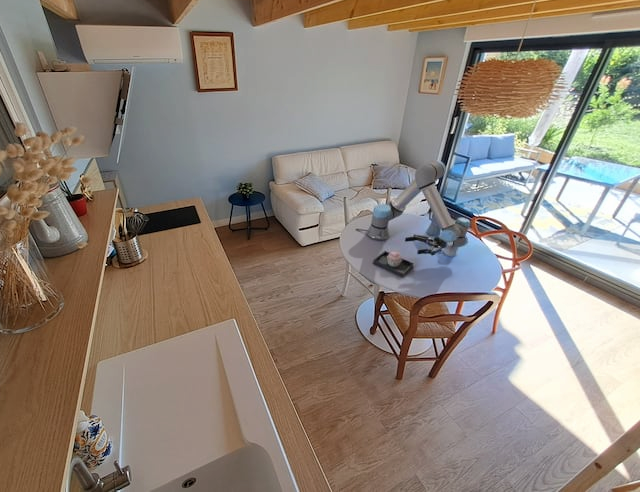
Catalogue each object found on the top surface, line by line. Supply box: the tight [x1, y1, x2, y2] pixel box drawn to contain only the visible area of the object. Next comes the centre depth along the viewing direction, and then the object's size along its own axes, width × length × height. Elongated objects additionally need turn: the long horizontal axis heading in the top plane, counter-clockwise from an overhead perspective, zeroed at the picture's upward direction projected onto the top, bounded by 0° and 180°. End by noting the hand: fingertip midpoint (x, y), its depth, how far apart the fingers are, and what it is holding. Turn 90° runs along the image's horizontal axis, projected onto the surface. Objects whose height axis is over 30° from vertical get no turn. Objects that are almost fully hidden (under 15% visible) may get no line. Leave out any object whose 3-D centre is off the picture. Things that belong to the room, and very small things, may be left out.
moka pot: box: [426, 208, 442, 237], centre depth 210 cm, size 10×15×20 cm, turn 27°
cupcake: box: [387, 251, 403, 267], centre depth 178 cm, size 9×9×10 cm
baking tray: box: [372, 250, 414, 278], centre depth 181 cm, size 20×15×3 cm
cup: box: [442, 247, 459, 257], centre depth 190 cm, size 7×10×9 cm
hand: (411, 245), depth 176 cm, fingers open, 13 cm apart
